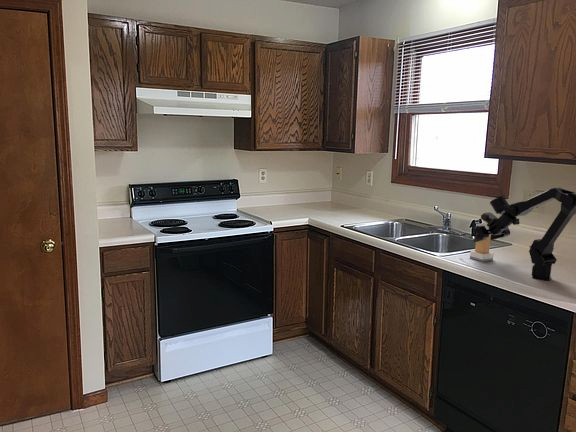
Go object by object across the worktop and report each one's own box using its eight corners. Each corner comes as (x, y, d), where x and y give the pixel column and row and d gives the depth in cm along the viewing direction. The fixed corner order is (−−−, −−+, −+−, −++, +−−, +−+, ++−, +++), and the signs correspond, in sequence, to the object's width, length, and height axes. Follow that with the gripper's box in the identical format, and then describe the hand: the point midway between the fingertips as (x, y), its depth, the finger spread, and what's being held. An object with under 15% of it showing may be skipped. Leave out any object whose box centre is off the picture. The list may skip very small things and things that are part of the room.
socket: (492, 260, 226) (493, 252, 225) (482, 261, 222) (483, 254, 222) (480, 256, 232) (481, 249, 231) (469, 257, 229) (470, 250, 228)
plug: (488, 257, 226) (491, 231, 224) (482, 258, 224) (484, 232, 222) (480, 255, 230) (483, 229, 228) (474, 256, 228) (477, 230, 226)
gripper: (507, 206, 224) (485, 225, 235) (479, 208, 215) (458, 228, 226) (520, 226, 218) (497, 244, 230) (492, 229, 209) (470, 248, 221)
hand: (480, 240), depth 227 cm, fingers open, 9 cm apart
